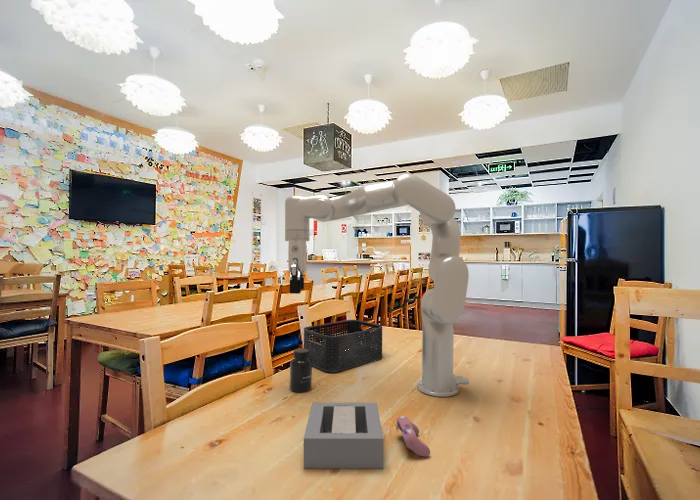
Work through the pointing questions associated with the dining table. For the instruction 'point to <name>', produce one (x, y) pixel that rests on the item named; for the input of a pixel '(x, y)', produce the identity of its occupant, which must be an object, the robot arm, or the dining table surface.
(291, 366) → the supplement bottle
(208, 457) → the dining table surface
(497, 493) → the dining table surface
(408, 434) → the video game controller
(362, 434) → the grey square box
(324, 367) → the storage bin
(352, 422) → the beige insert in tray
